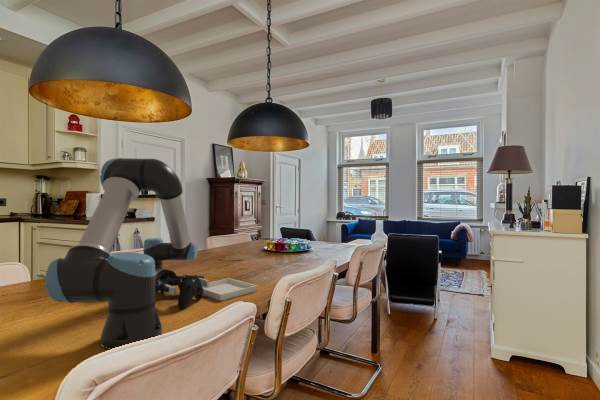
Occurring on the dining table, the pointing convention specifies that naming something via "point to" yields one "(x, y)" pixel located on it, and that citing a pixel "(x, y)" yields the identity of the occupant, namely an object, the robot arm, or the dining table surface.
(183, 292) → the gaming controller
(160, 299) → the dining table surface
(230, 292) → the tray
